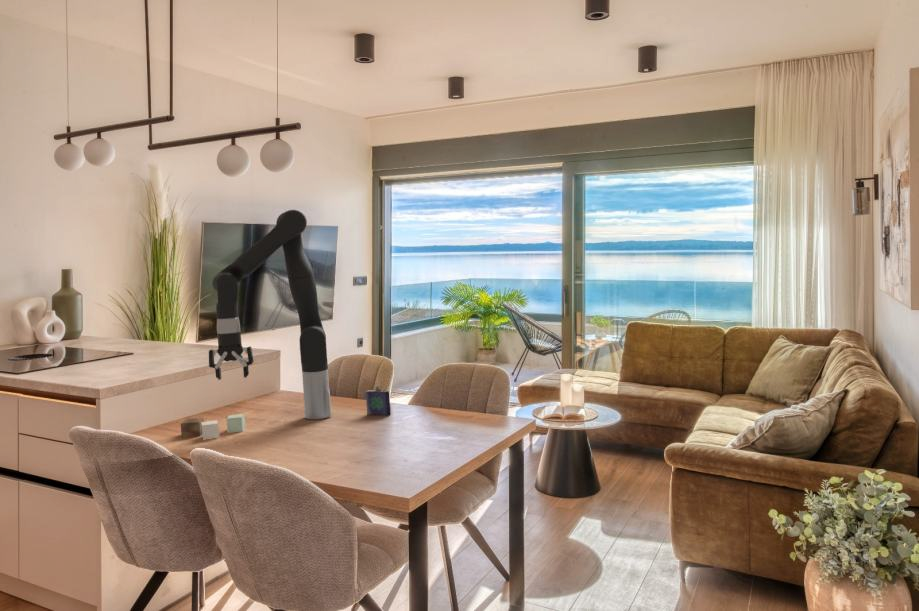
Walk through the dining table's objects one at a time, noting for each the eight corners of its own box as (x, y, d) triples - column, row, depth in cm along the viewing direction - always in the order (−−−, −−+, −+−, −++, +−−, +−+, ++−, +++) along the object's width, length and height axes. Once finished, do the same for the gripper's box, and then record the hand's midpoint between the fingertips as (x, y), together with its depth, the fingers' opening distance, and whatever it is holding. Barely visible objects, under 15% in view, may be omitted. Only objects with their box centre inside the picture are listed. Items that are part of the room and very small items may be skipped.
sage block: (245, 428, 230) (244, 413, 229) (242, 431, 225) (241, 417, 224) (230, 429, 229) (229, 415, 229) (227, 433, 224) (226, 418, 224)
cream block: (218, 434, 222) (217, 420, 222) (219, 438, 218) (218, 423, 217) (202, 437, 220) (201, 422, 220) (203, 440, 216) (202, 425, 215)
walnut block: (204, 432, 227) (203, 417, 227) (200, 436, 221) (199, 421, 221) (186, 433, 226) (185, 419, 226) (181, 438, 220) (180, 423, 220)
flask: (365, 415, 239) (364, 386, 239) (369, 413, 242) (367, 384, 241) (389, 416, 236) (387, 386, 236) (392, 414, 239) (390, 385, 238)
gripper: (252, 328, 229) (255, 374, 230) (209, 331, 227) (213, 378, 228) (248, 330, 222) (252, 378, 223) (204, 333, 220) (208, 381, 221)
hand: (232, 378), depth 226 cm, fingers open, 8 cm apart
